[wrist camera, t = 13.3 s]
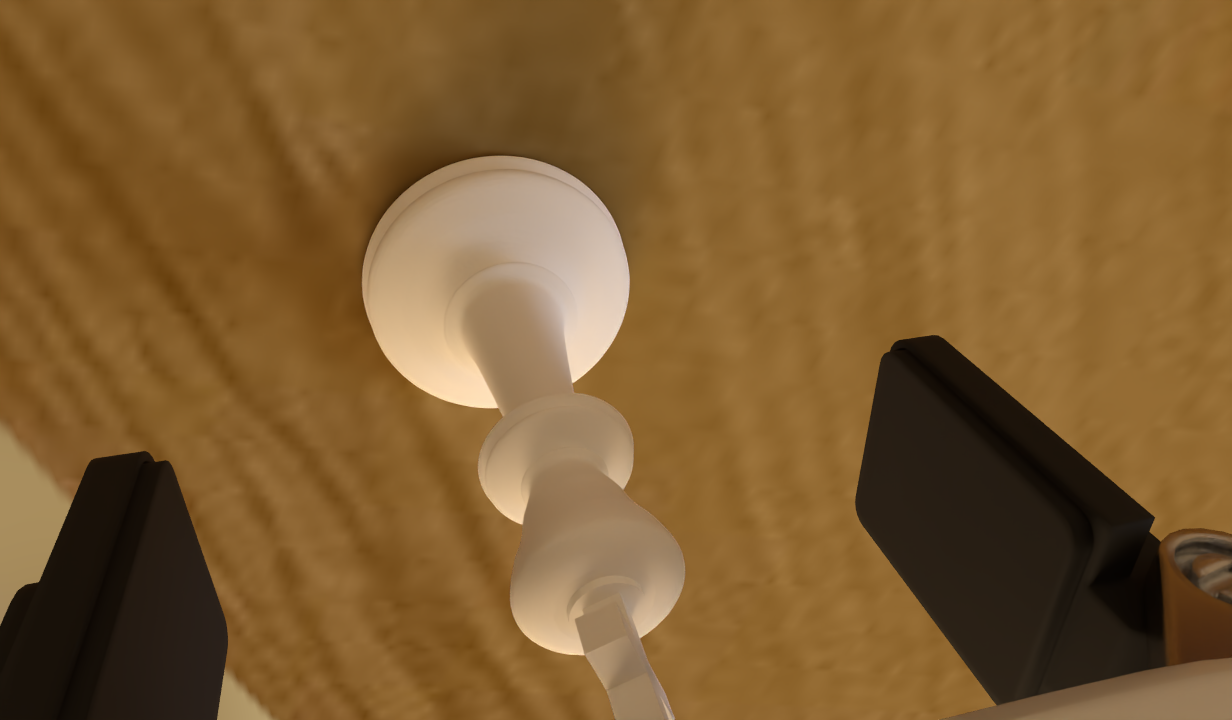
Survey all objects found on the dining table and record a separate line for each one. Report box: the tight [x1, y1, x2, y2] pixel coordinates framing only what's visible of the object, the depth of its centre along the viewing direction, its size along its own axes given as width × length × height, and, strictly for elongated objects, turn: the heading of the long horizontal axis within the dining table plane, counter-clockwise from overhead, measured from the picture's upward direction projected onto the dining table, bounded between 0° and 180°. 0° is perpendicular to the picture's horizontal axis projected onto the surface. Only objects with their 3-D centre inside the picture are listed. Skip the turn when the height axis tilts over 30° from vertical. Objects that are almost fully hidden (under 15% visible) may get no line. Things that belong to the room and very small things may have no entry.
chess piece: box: [362, 156, 685, 720], centre depth 12 cm, size 5×5×10 cm
